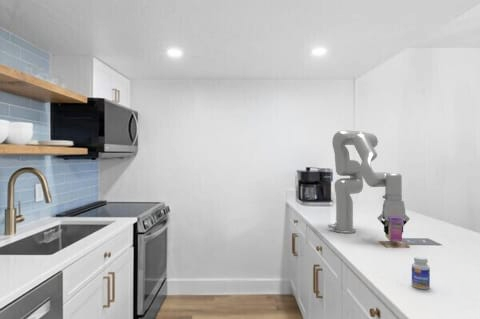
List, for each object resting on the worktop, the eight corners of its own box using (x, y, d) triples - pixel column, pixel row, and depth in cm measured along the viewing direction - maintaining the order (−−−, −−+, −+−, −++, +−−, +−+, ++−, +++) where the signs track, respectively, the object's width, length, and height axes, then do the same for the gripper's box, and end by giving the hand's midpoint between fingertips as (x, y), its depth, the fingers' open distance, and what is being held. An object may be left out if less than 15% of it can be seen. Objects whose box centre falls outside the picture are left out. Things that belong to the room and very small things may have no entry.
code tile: (405, 244, 171) (405, 244, 171) (394, 238, 185) (394, 238, 185) (442, 245, 171) (442, 244, 171) (428, 238, 185) (428, 238, 185)
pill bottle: (412, 288, 114) (412, 259, 114) (410, 282, 119) (410, 254, 119) (431, 290, 112) (431, 260, 112) (428, 284, 117) (428, 256, 117)
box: (402, 241, 166) (402, 217, 166) (390, 241, 167) (389, 217, 167) (397, 237, 176) (397, 214, 176) (385, 236, 177) (385, 213, 177)
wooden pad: (386, 247, 166) (386, 246, 166) (378, 242, 177) (378, 240, 177) (409, 247, 166) (409, 246, 166) (400, 242, 177) (400, 241, 177)
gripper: (378, 198, 168) (378, 235, 168) (414, 198, 167) (414, 235, 167) (373, 197, 176) (373, 232, 176) (407, 197, 175) (407, 232, 175)
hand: (393, 233), depth 172 cm, fingers closed on box, 6 cm apart
